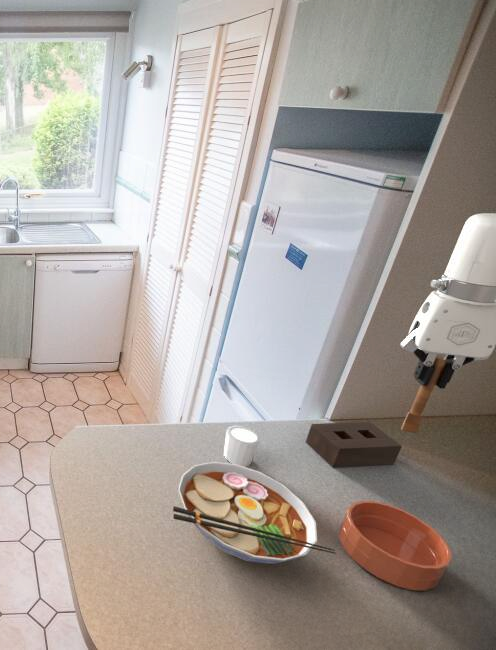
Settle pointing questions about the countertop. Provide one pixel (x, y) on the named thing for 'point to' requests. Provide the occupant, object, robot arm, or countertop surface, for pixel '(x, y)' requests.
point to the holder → (352, 444)
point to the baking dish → (394, 545)
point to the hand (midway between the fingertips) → (429, 382)
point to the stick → (423, 398)
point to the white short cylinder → (240, 445)
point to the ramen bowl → (246, 513)
